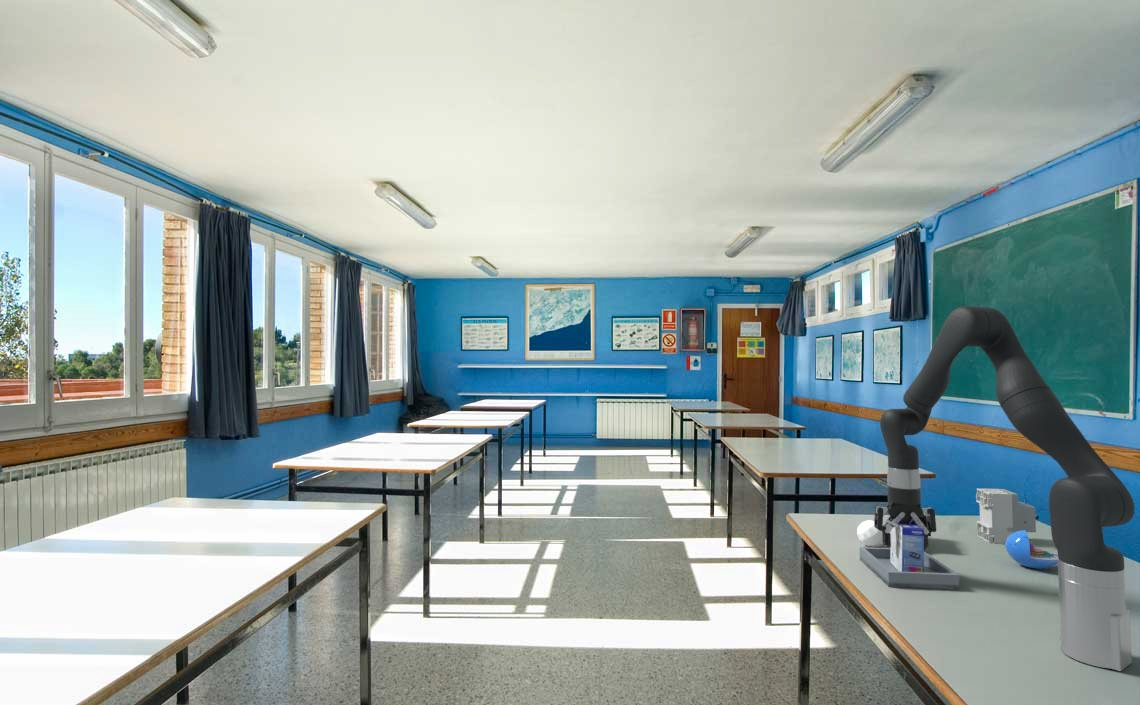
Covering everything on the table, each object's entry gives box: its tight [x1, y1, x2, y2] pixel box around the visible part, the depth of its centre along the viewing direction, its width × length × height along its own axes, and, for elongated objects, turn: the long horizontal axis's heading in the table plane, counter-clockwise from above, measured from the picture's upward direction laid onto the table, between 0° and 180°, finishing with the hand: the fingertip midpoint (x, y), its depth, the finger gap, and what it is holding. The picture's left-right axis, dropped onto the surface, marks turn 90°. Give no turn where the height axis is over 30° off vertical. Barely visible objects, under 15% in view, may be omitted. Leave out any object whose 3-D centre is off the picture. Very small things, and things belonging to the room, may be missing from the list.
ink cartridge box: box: [889, 518, 925, 572], centre depth 151 cm, size 10×6×14 cm, turn 167°
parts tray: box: [859, 546, 960, 590], centre depth 151 cm, size 16×20×4 cm
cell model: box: [1004, 530, 1058, 570], centre depth 155 cm, size 10×12×10 cm
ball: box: [856, 519, 884, 548], centre depth 174 cm, size 8×8×8 cm
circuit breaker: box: [975, 488, 1039, 545], centre depth 178 cm, size 8×14×15 cm, turn 78°
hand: (905, 547), depth 151 cm, fingers open, 8 cm apart
